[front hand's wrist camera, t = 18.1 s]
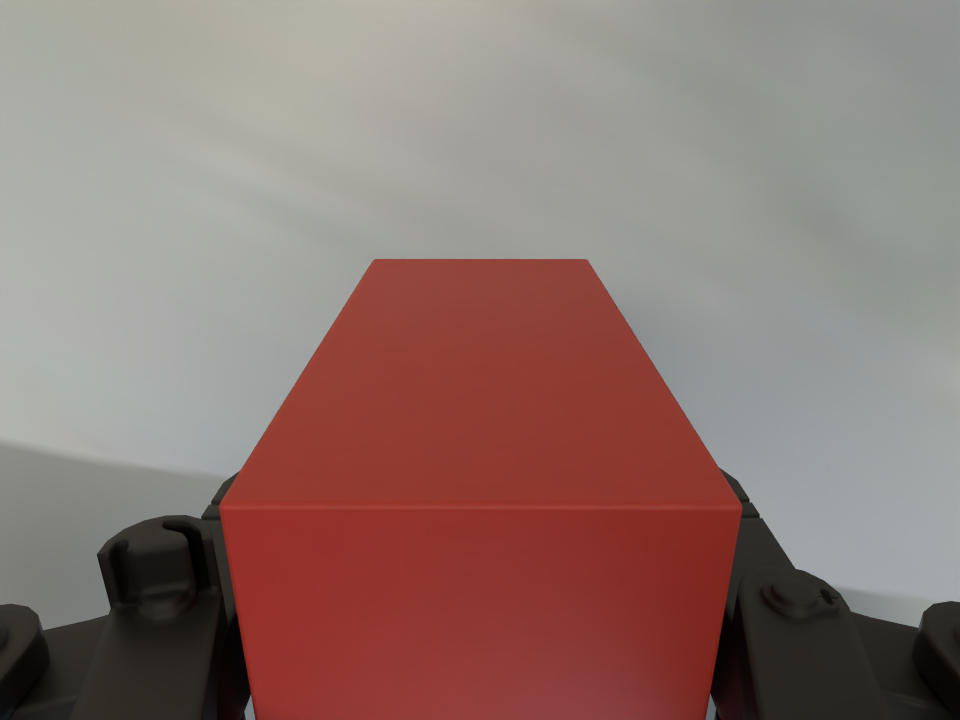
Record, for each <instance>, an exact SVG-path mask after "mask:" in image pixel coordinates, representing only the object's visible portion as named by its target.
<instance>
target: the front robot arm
mask: <svg viewBox="0 0 960 720" xmlns="http://www.w3.org/2000/svg"><path fill="white" fill-rule="evenodd" d="M719 469H720V468H719ZM720 470H721V472H722V474H723V475H724V477H725V478H726V480H727V482H728V483H729V485H730V486H731V488H732V489H733V491H734V493H735V494H736V496H737V497H738V499H739V501H740V502H741V505H742V513H741V519H740V525H739V530H738V536H737V542H736V548H735V553H734V559H733V565H732V570H731V576H730V582H729V588H728V593H727V599H726V605H725V610H724V616H723V622H722V628H721V633H720V639H719V645H718V650H717V656H716V662H715V668H714V673H713V679H712V685H711V690H710V693H711V696H712V699H713V701H714V704H715V706H716V713H715V718H714V720H960V602H953V601H949V602H943V603H937V604H933V605H932V606H930V607H929V608H928V609H927V610H926V611H924V612H923V615H922V618H921V622H920V625H919V628H916V627H912V626H907V625H902V624H898V623H894V622H889V621H885V620H880V619H876V618H871V617H868V616H864V615H861V614H857V613H854V612H851V611H850V609H849V607H848V605H847V604H846V602H845V601H844V599H843V597H842V596H841V594H840V593H839V592H837V591H836V590H835V589H834V588H832V587H831V586H830V585H829V584H828V583H826V582H825V581H824V580H822V579H820V578H818V577H815V576H813V575H811V574H809V573H807V572H805V571H802V570H798V569H795V567H794V566H793V564H792V563H791V561H790V560H789V558H788V557H787V555H786V554H785V552H784V551H783V549H782V548H781V546H780V545H779V543H778V542H777V540H776V539H775V537H774V536H773V534H772V533H771V531H770V529H769V528H768V526H767V525H766V523H765V522H764V520H763V519H762V518H760V516H759V515H760V514H759V513H758V511H757V510H756V508H755V507H754V505H753V504H752V503H750V501H749V498H748V496H747V495H746V493H745V491H744V490H743V488H742V487H741V485H740V484H739V482H738V481H737V480H736V479H734V478H733V477H732V476H730V475H729V474H727V473H726V472H725V471H723V470H722V469H720ZM239 472H240V471H239ZM239 472H238V473H236V474H235V475H234V476H232V477H231V478H229V479H228V480H227V481H225V482H224V483H223V484H222V486H221V487H220V489H219V490H218V492H217V493H216V495H215V497H214V498H213V500H212V501H211V505H209V506H208V507H207V509H206V510H205V512H204V513H203V515H202V517H201V519H199V518H195V517H191V516H187V515H172V516H163V517H158V518H153V519H149V520H145V521H142V522H140V523H137V524H135V525H133V526H131V527H128V528H126V529H124V530H122V531H121V532H119V533H118V534H117V535H115V536H114V537H112V538H111V539H110V540H108V541H107V542H106V543H105V545H104V546H103V547H102V548H101V550H100V551H99V552H98V554H97V557H98V561H99V565H100V568H101V572H102V576H103V580H104V584H105V588H106V591H107V595H108V599H109V603H110V607H111V610H110V612H109V615H106V616H102V617H99V618H95V619H92V620H88V621H83V622H79V623H75V624H70V625H66V626H61V627H57V628H52V629H48V630H43V629H42V626H41V623H40V620H39V617H38V615H37V614H36V613H35V612H34V611H33V610H31V609H30V608H29V607H26V606H21V605H15V604H6V605H0V720H246V718H245V713H244V711H245V708H246V706H247V703H248V700H249V698H250V695H251V691H250V685H249V679H248V673H247V667H246V662H245V656H244V650H243V644H242V639H241V633H240V627H239V621H238V615H237V610H236V604H235V598H234V592H233V586H232V581H231V575H230V569H229V563H228V557H227V552H226V546H225V540H224V534H223V528H222V523H221V517H220V511H219V506H220V502H221V501H222V499H223V497H224V496H225V494H226V493H227V491H228V489H229V488H230V486H231V485H232V483H233V482H234V480H235V478H236V477H237V475H238V474H239Z"/></svg>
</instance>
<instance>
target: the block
mask: <svg viewBox="0 0 960 720" xmlns="http://www.w3.org/2000/svg"><path fill="white" fill-rule="evenodd" d="M219 511H220V517H221V523H222V528H223V534H224V540H225V546H226V552H227V557H228V563H229V569H230V575H231V581H232V586H233V592H234V598H235V604H236V610H237V615H238V621H239V627H240V633H241V639H242V644H243V650H244V656H245V662H246V667H247V673H248V679H249V685H250V691H251V696H252V702H253V708H254V714H255V720H705V719H706V713H707V708H708V702H709V696H710V690H711V685H712V679H713V673H714V668H715V662H716V656H717V650H718V645H719V639H720V633H721V628H722V622H723V616H724V610H725V605H726V599H727V593H728V588H729V582H730V576H731V570H732V565H733V559H734V553H735V548H736V542H737V536H738V530H739V525H740V519H741V513H742V505H741V502H740V501H739V499H738V497H737V496H736V494H735V493H734V491H733V489H732V488H731V486H730V485H729V483H728V482H727V480H726V478H725V477H724V475H723V474H722V472H721V470H720V469H719V467H718V466H717V464H716V463H715V461H714V459H713V458H712V456H711V455H710V453H709V451H708V450H707V448H706V447H705V445H704V444H703V442H702V440H701V439H700V437H699V436H698V434H697V432H696V431H695V429H694V428H693V426H692V425H691V423H690V421H689V420H688V418H687V417H686V415H685V413H684V412H683V410H682V409H681V407H680V406H679V404H678V402H677V401H676V399H675V398H674V396H673V394H672V393H671V391H670V390H669V388H668V387H667V385H666V383H665V382H664V380H663V379H662V377H661V375H660V374H659V372H658V371H657V369H656V368H655V366H654V364H653V363H652V361H651V360H650V358H649V356H648V355H647V353H646V352H645V350H644V349H643V347H642V345H641V344H640V342H639V341H638V339H637V337H636V336H635V334H634V333H633V331H632V330H631V328H630V326H629V325H628V323H627V322H626V320H625V318H624V317H623V315H622V314H621V312H620V311H619V309H618V307H617V306H616V304H615V303H614V301H613V299H612V298H611V296H610V295H609V293H608V292H607V290H606V288H605V287H604V285H603V284H602V282H601V280H600V279H599V277H598V276H597V274H596V273H595V271H594V269H593V268H592V266H591V265H590V263H589V261H588V260H586V259H375V260H373V261H372V263H371V265H370V266H369V268H368V269H367V271H366V272H365V274H364V276H363V277H362V279H361V280H360V282H359V284H358V285H357V287H356V288H355V290H354V291H353V293H352V295H351V296H350V298H349V299H348V301H347V303H346V304H345V306H344V307H343V309H342V310H341V312H340V314H339V315H338V317H337V318H336V320H335V322H334V323H333V325H332V326H331V328H330V329H329V331H328V333H327V334H326V336H325V337H324V339H323V341H322V342H321V344H320V345H319V347H318V348H317V350H316V352H315V353H314V355H313V356H312V358H311V360H310V361H309V363H308V364H307V366H306V367H305V369H304V371H303V372H302V374H301V375H300V377H299V379H298V380H297V382H296V383H295V385H294V387H293V388H292V390H291V391H290V393H289V394H288V396H287V398H286V399H285V401H284V402H283V404H282V406H281V407H280V409H279V410H278V412H277V413H276V415H275V417H274V418H273V420H272V421H271V423H270V425H269V426H268V428H267V429H266V431H265V432H264V434H263V436H262V437H261V439H260V440H259V442H258V444H257V445H256V447H255V448H254V450H253V451H252V453H251V455H250V456H249V458H248V459H247V461H246V463H245V464H244V466H243V467H242V469H241V470H240V472H239V474H238V475H237V477H236V478H235V480H234V482H233V483H232V485H231V486H230V488H229V489H228V491H227V493H226V494H225V496H224V497H223V499H222V501H221V502H220V506H219Z"/></svg>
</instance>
